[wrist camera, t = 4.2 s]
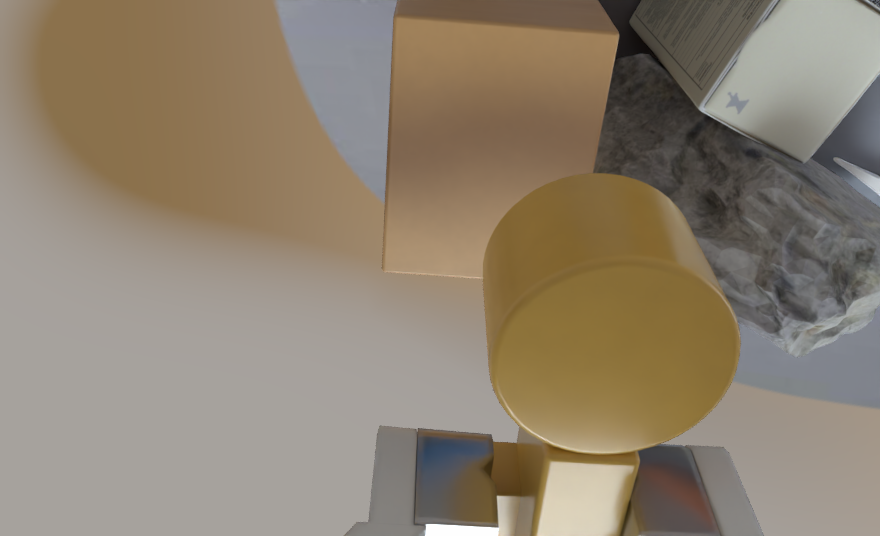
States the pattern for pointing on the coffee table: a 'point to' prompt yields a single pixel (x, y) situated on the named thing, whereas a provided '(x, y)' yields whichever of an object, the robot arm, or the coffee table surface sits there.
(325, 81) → the coffee table surface
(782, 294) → the decorative rock
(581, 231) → the key
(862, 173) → the white tapered bar
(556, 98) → the wooden post
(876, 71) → the box
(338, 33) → the coffee table surface
